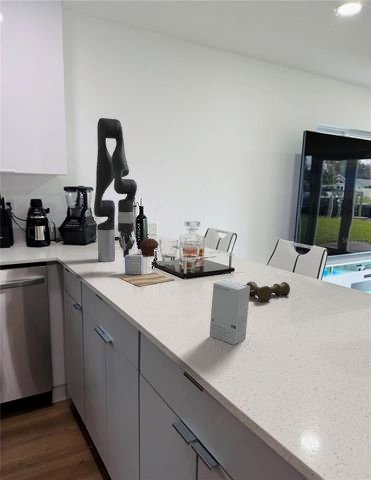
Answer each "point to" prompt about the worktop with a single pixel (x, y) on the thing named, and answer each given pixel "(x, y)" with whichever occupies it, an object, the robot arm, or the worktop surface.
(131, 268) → the medicine box
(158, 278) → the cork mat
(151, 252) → the muffin
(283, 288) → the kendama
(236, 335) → the skincare box
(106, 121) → the robot arm
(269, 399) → the worktop surface
